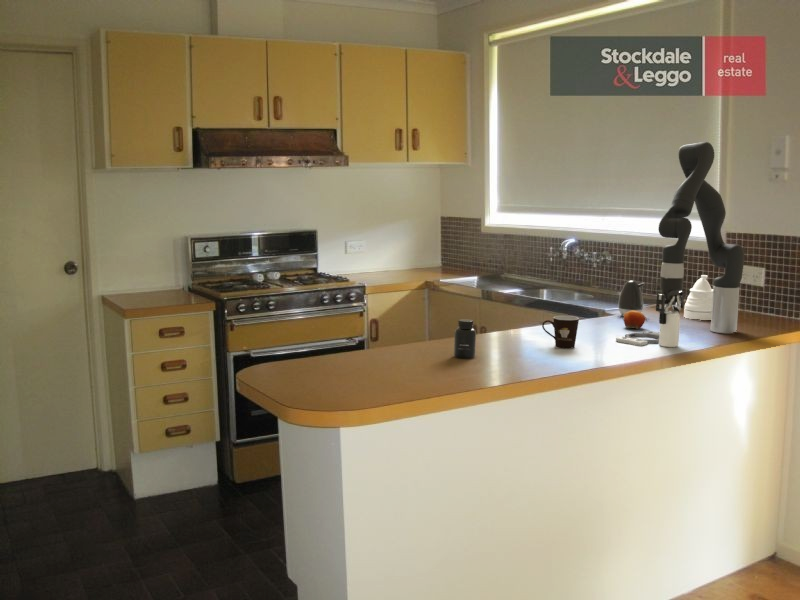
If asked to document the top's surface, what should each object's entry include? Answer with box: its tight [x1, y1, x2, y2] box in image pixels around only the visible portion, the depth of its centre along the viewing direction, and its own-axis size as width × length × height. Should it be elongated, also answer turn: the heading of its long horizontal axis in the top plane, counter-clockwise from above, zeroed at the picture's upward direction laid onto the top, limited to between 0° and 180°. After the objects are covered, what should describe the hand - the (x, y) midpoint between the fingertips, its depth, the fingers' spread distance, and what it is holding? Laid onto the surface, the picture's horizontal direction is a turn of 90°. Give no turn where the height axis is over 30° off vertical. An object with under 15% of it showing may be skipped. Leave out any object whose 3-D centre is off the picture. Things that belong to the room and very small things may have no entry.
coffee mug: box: [541, 315, 580, 350], centre depth 289 cm, size 12×9×10 cm
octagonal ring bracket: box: [615, 330, 660, 347], centre depth 302 cm, size 22×13×1 cm, turn 133°
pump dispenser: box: [617, 279, 646, 317], centre depth 350 cm, size 10×10×15 cm
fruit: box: [623, 311, 646, 330], centre depth 324 cm, size 8×8×8 cm
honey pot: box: [683, 274, 713, 321], centre depth 348 cm, size 13×13×18 cm
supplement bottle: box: [453, 318, 477, 360], centre depth 271 cm, size 7×7×12 cm
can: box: [658, 309, 681, 348], centre depth 291 cm, size 6×6×12 cm
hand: (669, 322), depth 291 cm, fingers open, 8 cm apart
